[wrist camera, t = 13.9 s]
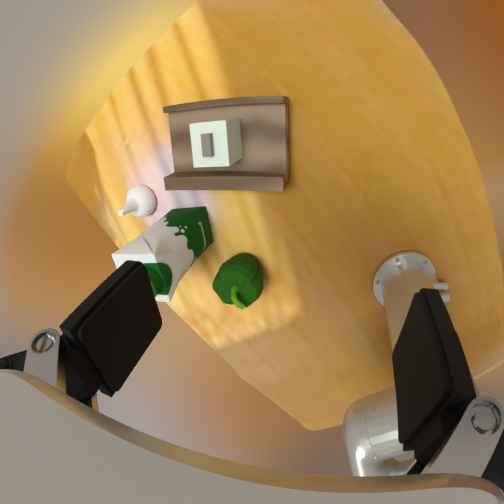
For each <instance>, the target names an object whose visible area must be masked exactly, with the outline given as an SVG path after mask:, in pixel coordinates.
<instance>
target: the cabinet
mask: <svg viewBox="0 0 504 504" xmlns="http://www.w3.org/2000/svg"><path fill="white" fill-rule="evenodd" d="M189 126H190V136H191V146H192V155H193V165H194V168H195V167H221V166H230V165H232V164H234V163H235V162H237V161H238V160H240V159H241V158H242V146H241V130H240V118H233V119H220V120H209V121H202V122H197V123H191V124H189Z"/></svg>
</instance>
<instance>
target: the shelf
mask: <svg viewBox="0 0 504 504" xmlns="http://www.w3.org/2000/svg"><path fill="white" fill-rule="evenodd" d="M163 112H164V113H169V124H170V134H171V144H172V153H173V162H174V170H175V172H174V173H172V174H170V175H169V176H167V177H165V178H164V182H165V189H166V190H248V191H277V192H283V191H284V189H285V187H286V185H287V183H288V181H289V179H290V173H289V116H288V97H285V96H258V97H241V98H228V99H217V100H208V101H199V102H192V103H185V104H178V105H172V106H166V107H163ZM233 118H240V130H241V146H242V158H241V159H240V160H238V161H237V162H235V163H234V164H232V165H230V166H221V167H195V168H194V165H193V155H192V146H191V136H190V126H189V124H191V123H197V122H202V121H209V120H220V119H233Z"/></svg>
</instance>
